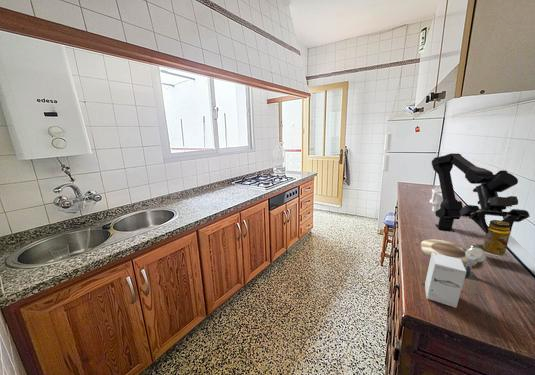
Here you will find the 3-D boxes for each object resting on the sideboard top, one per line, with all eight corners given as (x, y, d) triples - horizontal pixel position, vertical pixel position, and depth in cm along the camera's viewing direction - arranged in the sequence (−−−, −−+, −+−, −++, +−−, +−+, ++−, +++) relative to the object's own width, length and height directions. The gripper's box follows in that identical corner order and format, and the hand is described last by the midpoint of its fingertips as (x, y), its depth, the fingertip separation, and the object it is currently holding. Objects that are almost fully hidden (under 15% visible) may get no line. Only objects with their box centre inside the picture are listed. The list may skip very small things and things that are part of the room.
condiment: (509, 258, 79) (517, 227, 76) (478, 252, 83) (484, 223, 80) (501, 248, 85) (508, 220, 82) (472, 243, 89) (478, 216, 86)
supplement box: (426, 299, 66) (433, 263, 63) (424, 285, 73) (431, 251, 69) (457, 309, 63) (467, 271, 59) (452, 293, 69) (461, 258, 66)
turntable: (415, 239, 100) (416, 236, 100) (463, 246, 94) (464, 243, 94) (428, 261, 84) (428, 257, 83) (487, 271, 78) (488, 267, 77)
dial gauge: (450, 266, 82) (457, 236, 79) (466, 269, 81) (475, 238, 77) (460, 279, 75) (468, 247, 72) (478, 283, 73) (488, 250, 70)
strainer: (434, 213, 134) (439, 190, 130) (425, 209, 140) (429, 187, 136) (444, 212, 134) (449, 189, 130) (434, 208, 141) (439, 186, 137)
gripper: (470, 185, 85) (478, 222, 78) (534, 189, 78) (549, 230, 71) (456, 198, 94) (462, 232, 87) (513, 203, 88) (524, 240, 81)
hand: (497, 233), depth 81 cm, fingers closed on condiment, 6 cm apart
